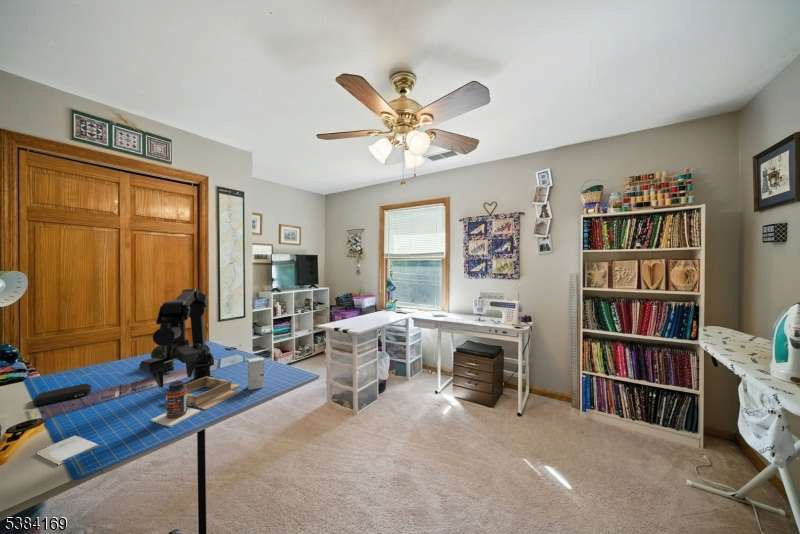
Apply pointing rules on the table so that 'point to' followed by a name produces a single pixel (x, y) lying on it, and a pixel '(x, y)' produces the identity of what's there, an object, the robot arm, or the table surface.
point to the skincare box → (255, 373)
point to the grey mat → (171, 422)
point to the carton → (210, 392)
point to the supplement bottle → (176, 400)
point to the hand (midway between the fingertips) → (175, 382)
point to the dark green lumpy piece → (158, 354)
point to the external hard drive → (71, 448)
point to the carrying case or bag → (62, 394)
